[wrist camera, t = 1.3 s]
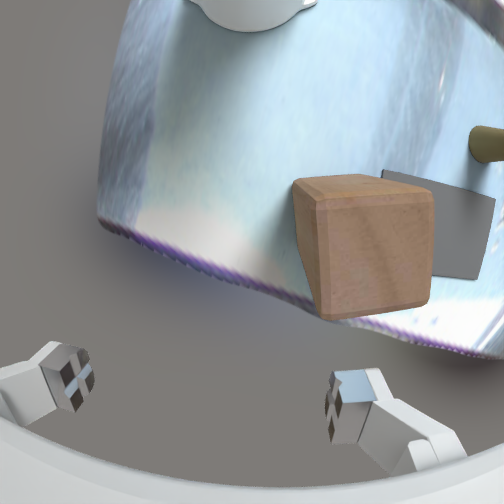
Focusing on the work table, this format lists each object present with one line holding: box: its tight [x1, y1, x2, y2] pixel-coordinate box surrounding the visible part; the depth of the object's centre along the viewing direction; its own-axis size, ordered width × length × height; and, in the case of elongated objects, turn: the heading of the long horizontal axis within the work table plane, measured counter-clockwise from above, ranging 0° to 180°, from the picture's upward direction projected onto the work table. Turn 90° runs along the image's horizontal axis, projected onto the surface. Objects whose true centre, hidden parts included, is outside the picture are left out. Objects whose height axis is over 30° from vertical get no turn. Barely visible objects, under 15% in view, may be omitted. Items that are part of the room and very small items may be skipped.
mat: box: [382, 169, 496, 280], centre depth 40 cm, size 14×22×1 cm, turn 84°
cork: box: [469, 126, 504, 163], centre depth 30 cm, size 6×6×11 cm
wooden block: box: [292, 174, 434, 321], centre depth 31 cm, size 10×10×20 cm
